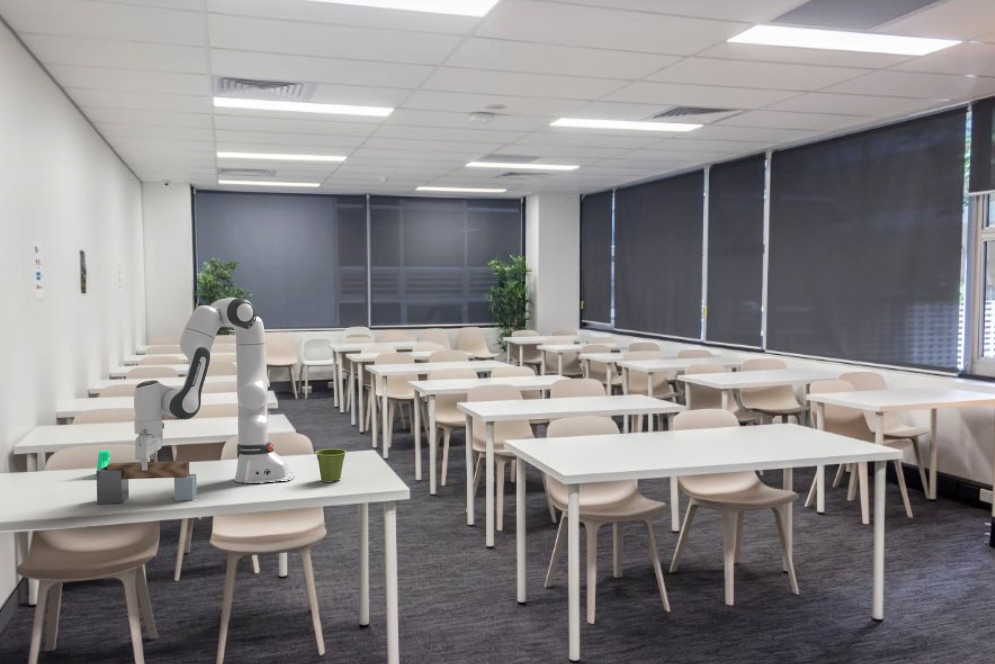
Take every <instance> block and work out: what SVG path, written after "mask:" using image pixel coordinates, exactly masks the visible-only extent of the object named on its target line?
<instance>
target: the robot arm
mask: <svg viewBox="0 0 995 664" xmlns="http://www.w3.org/2000/svg"><path fill="white" fill-rule="evenodd" d="M222 327H225V328H233V330H234V332H235V354H236V355H235V357H236V358H235V359H236V396H237V440H238V441H237V442H238V443H237V445H236V456H237V457H236V458H237V464H236V465H237V466H236V472H235V476H234V482H238V483H242V482H245V483H244V484H246V483H260V484H262V483H261V482H270V481H281V480H289V479H291V478H293V477H294V478H295V473H294V472H293V471H290V469H289V464H288V462H287V460H286V459H285V458H283V457H282V456H280V455H279V454H277V453H276V452H275V451H274V443H271V442H270V441H269V425H268V423H269V420H268V372H267V371H268V369H267V343H266V341H267V339H266V332H265V331H266V330H265V325H264V322H263V320H262V318H260V317H259V316H257V313H256V310H255V307H254V305H253V303H252V302H251V301H250V300H248V299H246V298H243V297H226V298H217V299H214V300H213V301H211V302H210V303H209V304H208V305H205V304H204V305H199V306H197V307H195V308H194V310H193V312H192V313H191V315H190V317H189V318H188V320H187V323H186V324H185V327H184V329H183V331H182V334H181V336H180V340H179V348H180V350H181V352H182V353H183V354H184V356H185V357H186V358H187V360H188V362H189V363H188V369H187V373H186V377H185V379H184V383H183V386H182V387H181V388H174V387H170V386H167V385H166V384H163V383H161V382H159V381H158V380H155V379H154V380H145V381H143V382H140V383H138V384H137V385H136V386H135V389H134V395H133V409H134V412H135V415H134V423H133V424H134V434H135V435H138V436H136V438H135V442H134V457H135V459H136V460H140V461H139V462H141V465H142V470H148V462H157V456H158V451H159V450H161V449H162V447H163V436H164V435H163V434H164V431H163V430H164V429H165V422H163V416H164V415H166V416H169V417H175V418H177V419H180V420H182V421H183V420H184V421H185V420H190V419H193V418H194V417H195V416H196V415H197V414H198V413H199V411H200V409H201V406H202V405H201V403H202V390H203V387H204V384H205V381H206V377H207V374H208V370H209V366H210V361H211V351H212V347H213V344H214V341H215V339H216V336H217V332H218V331H219V330H220V329H221V328H222ZM148 459H149V461H148ZM294 478H293V479H294Z"/></svg>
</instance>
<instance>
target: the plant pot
mask: <svg viewBox="0 0 995 664" xmlns="http://www.w3.org/2000/svg"><path fill="white" fill-rule="evenodd" d="M314 453H315V455H316V459H317V461H318V468H319V474H320V481H321V480H324V481H334V482H336V481H335V480H339V479H340V480H341V478H342V477H341V476H342V470H343V464H344V460H345V457H346V453H347V451H346V450H344V449H341V448H328V449H319V450H316V451H315V452H314ZM340 480H339V481H340ZM324 481H323V482H324Z"/></svg>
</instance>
